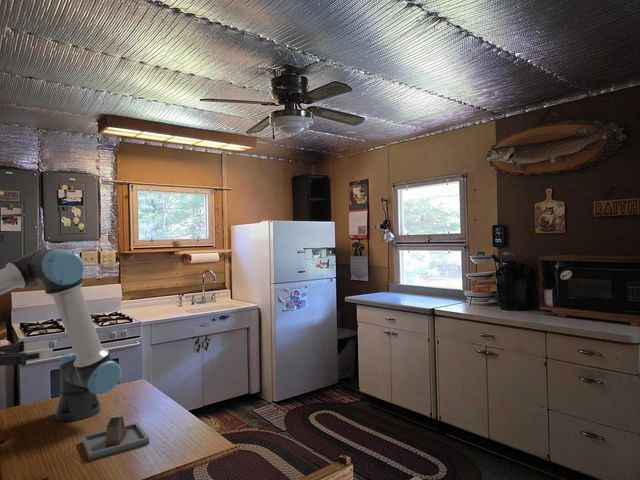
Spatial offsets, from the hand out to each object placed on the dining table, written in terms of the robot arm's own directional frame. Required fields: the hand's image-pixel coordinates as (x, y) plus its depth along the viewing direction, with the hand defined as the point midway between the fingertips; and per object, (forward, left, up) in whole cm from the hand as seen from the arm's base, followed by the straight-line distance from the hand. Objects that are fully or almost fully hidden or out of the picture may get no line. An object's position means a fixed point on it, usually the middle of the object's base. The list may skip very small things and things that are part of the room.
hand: (50, 348), depth 133 cm
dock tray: (+6, +17, -32) cm, 37 cm away
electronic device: (+5, +17, -31) cm, 36 cm away
